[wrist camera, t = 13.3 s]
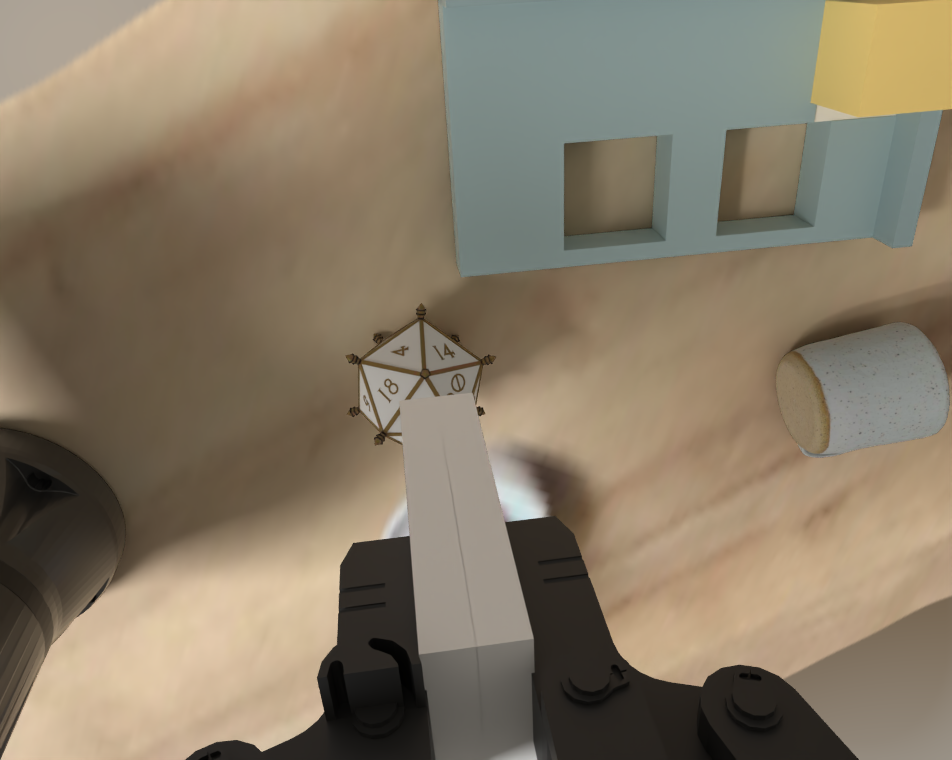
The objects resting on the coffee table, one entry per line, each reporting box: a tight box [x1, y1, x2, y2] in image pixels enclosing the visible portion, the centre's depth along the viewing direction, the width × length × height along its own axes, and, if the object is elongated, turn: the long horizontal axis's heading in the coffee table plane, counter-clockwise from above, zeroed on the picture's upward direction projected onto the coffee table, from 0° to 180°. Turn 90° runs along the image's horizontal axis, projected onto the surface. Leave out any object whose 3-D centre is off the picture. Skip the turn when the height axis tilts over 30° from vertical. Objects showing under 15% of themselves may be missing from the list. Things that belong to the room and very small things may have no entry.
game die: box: [346, 303, 496, 445], centre depth 46 cm, size 9×8×10 cm
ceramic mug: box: [776, 322, 950, 458], centre depth 51 cm, size 11×8×8 cm
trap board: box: [438, 0, 943, 277], centre depth 42 cm, size 26×15×4 cm, turn 93°
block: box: [810, 0, 952, 117], centre depth 39 cm, size 5×5×4 cm
